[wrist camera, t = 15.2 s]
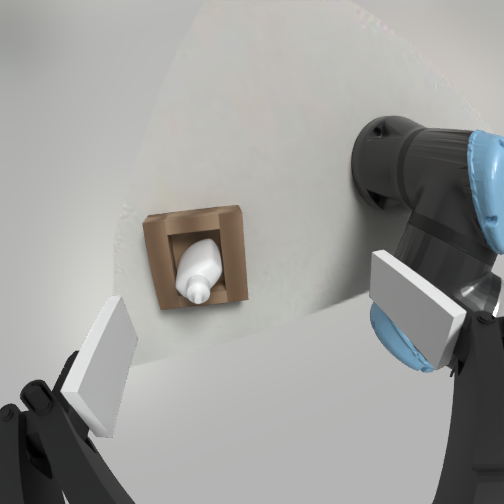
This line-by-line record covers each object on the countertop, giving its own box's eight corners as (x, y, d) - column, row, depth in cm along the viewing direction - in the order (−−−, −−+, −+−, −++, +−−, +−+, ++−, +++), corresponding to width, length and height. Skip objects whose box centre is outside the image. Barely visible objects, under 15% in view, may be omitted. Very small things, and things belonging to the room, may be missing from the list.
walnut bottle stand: (238, 205, 37) (241, 211, 34) (244, 285, 42) (248, 299, 38) (148, 215, 36) (142, 223, 32) (163, 295, 40) (160, 309, 37)
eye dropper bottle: (222, 266, 39) (230, 314, 28) (181, 272, 38) (175, 323, 27) (217, 235, 37) (223, 276, 26) (175, 242, 37) (164, 285, 26)
